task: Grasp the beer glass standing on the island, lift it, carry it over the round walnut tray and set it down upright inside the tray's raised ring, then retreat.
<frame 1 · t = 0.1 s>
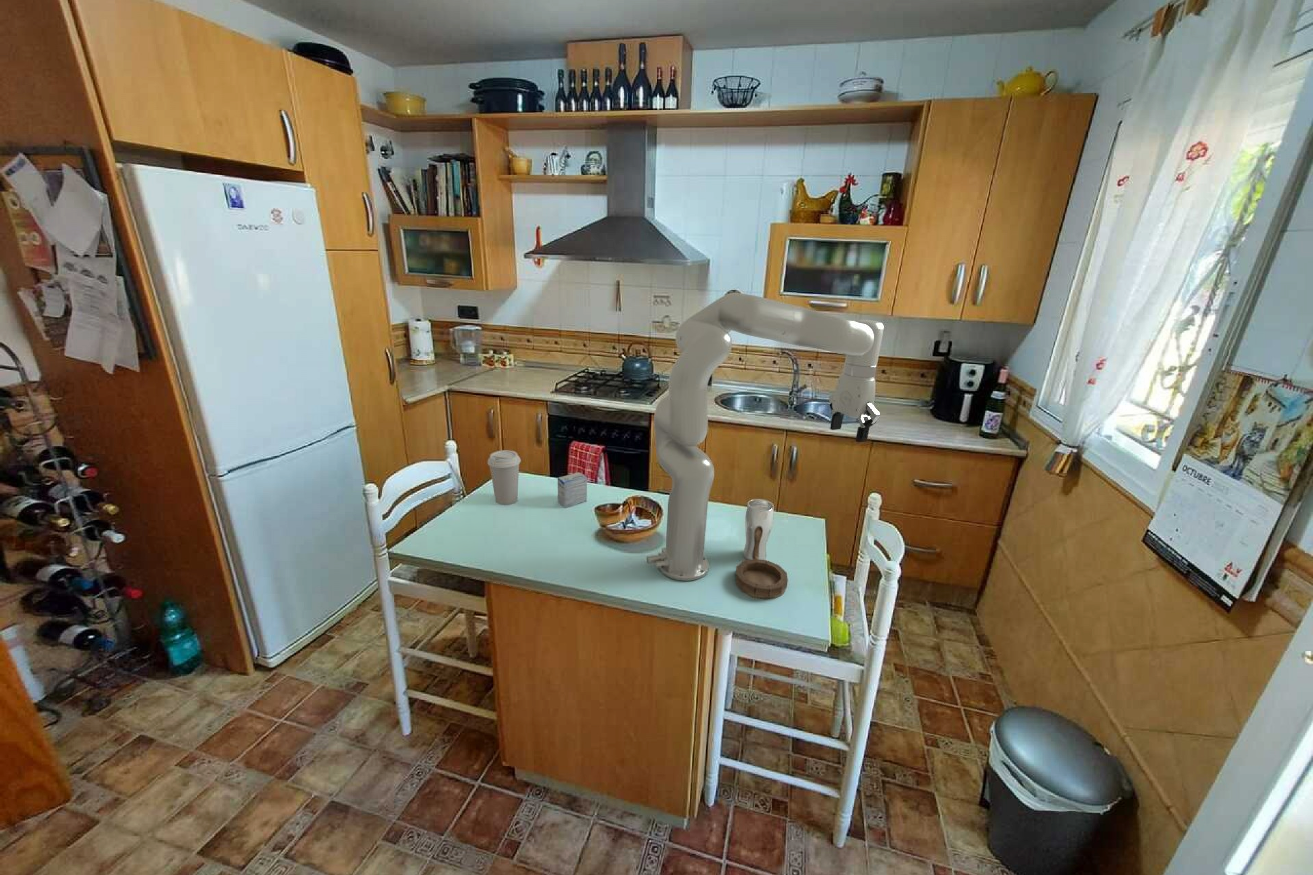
hand: (847, 435, 135), 31 cm above the countertop, tool pointing down, fingers open, 9 cm apart
round tray: (760, 583, 124), on the countertop
beer glass: (754, 556, 136), on the countertop
medicine box: (572, 503, 160), on the countertop
coffee cup: (506, 500, 159), on the countertop
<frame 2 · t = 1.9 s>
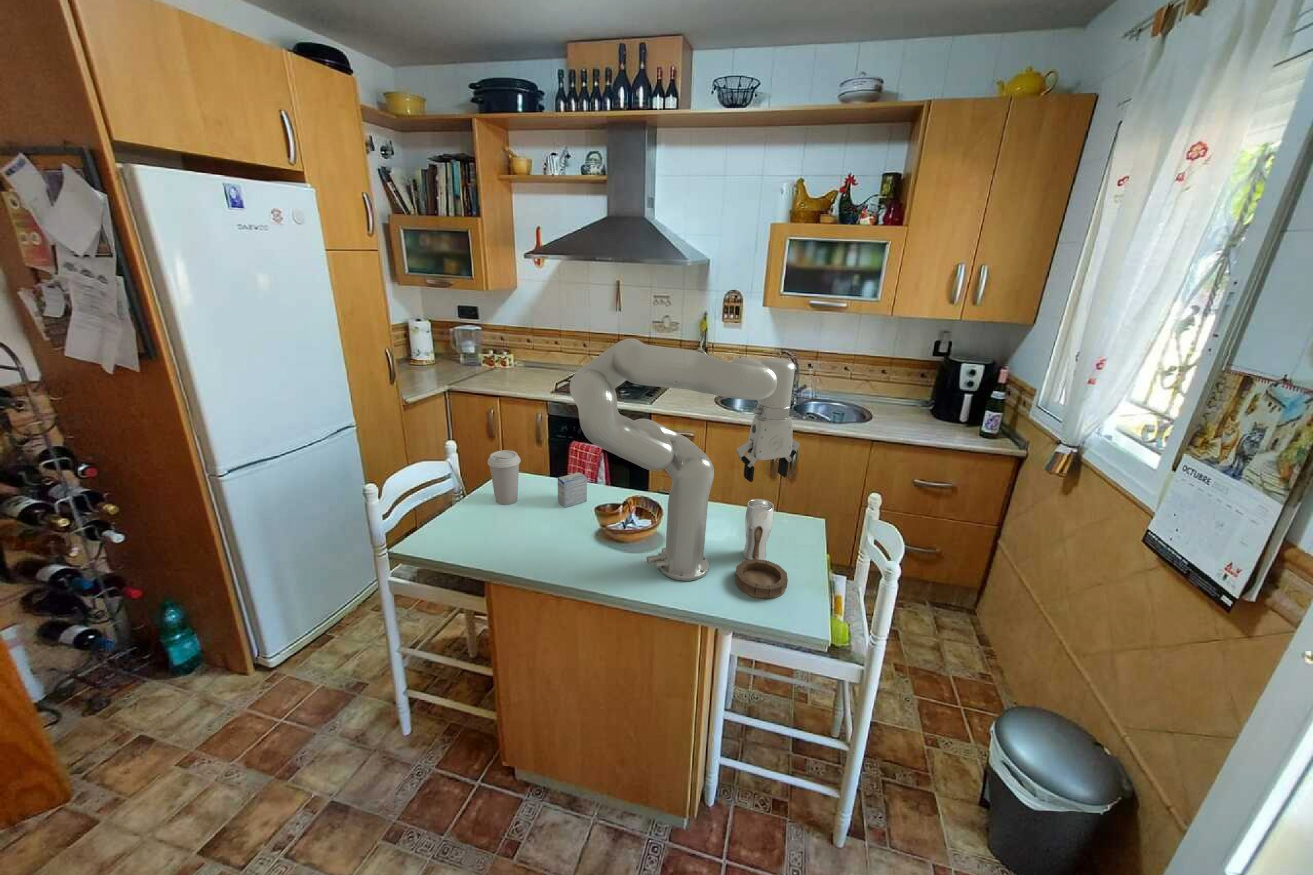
hand: (765, 477, 128), 23 cm above the countertop, tool pointing down, fingers open, 9 cm apart
nothing on the countertop moved.
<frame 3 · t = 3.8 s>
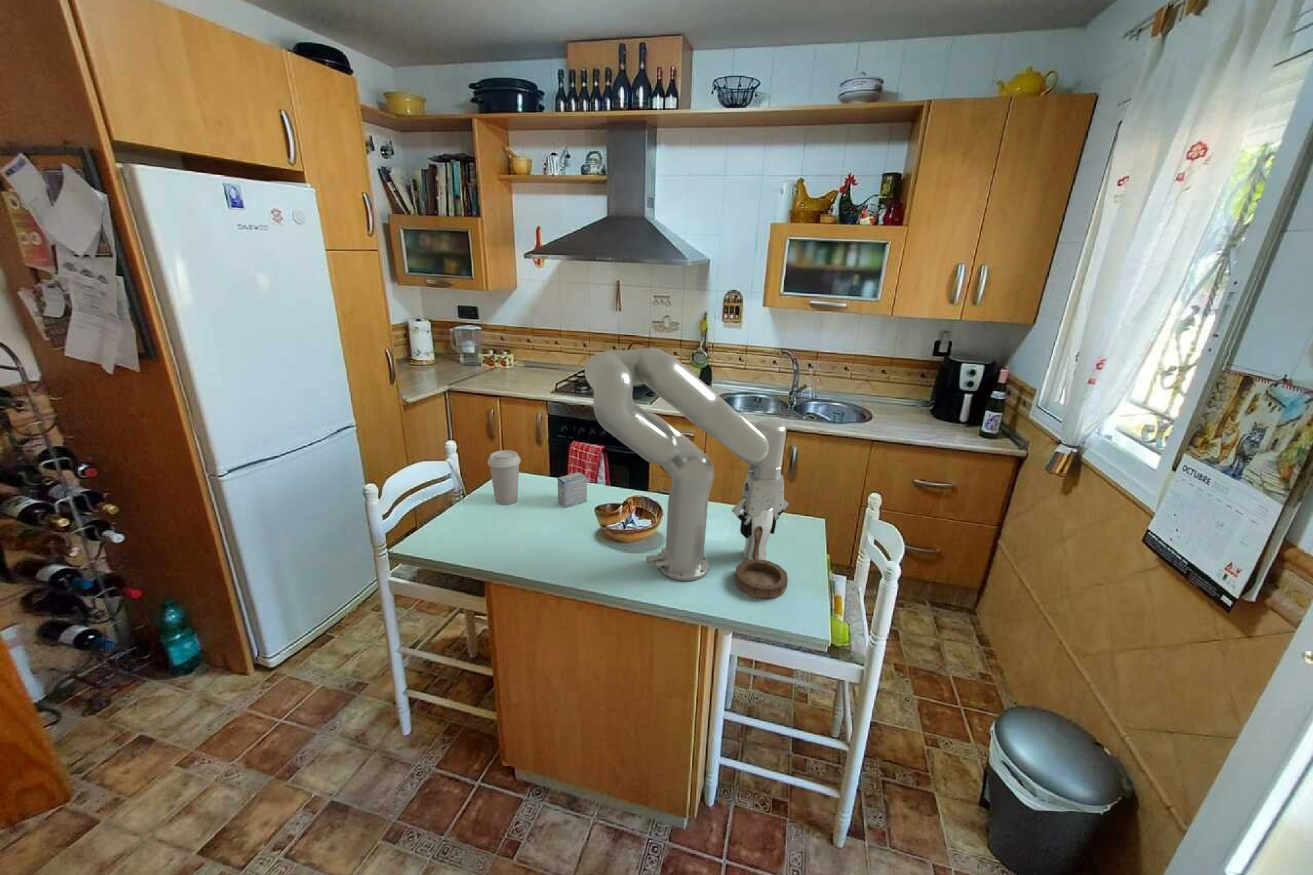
hand: (757, 533, 133), 7 cm above the countertop, tool pointing down, fingers closed on beer glass, 6 cm apart
beer glass: (754, 556, 136), on the countertop, touching gripper
everything else where it was.
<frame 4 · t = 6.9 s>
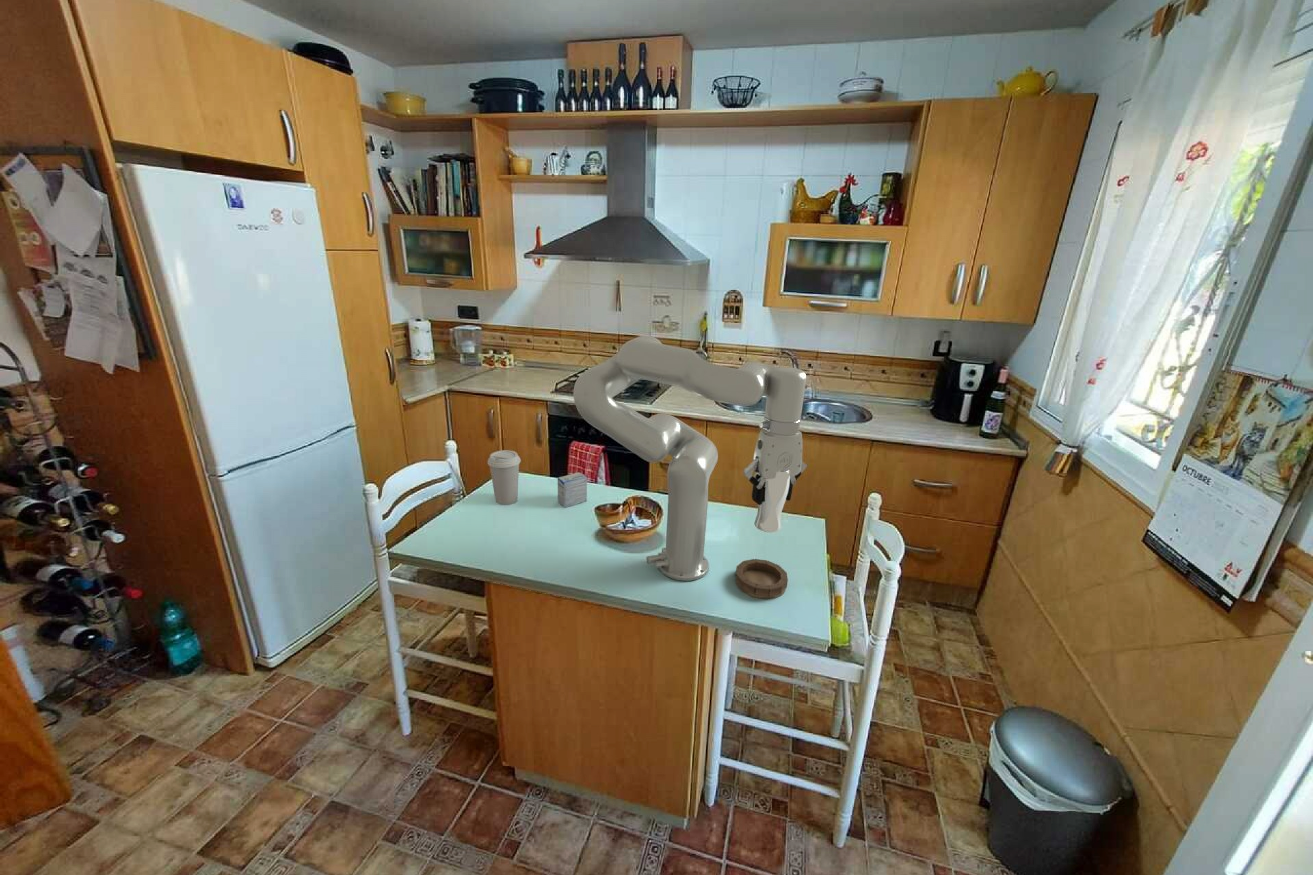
hand: (771, 499, 117), 22 cm above the countertop, tool pointing down, fingers closed on beer glass, 6 cm apart
beer glass: (767, 526, 119), point 15 cm above the countertop, touching gripper
everything else where it was.
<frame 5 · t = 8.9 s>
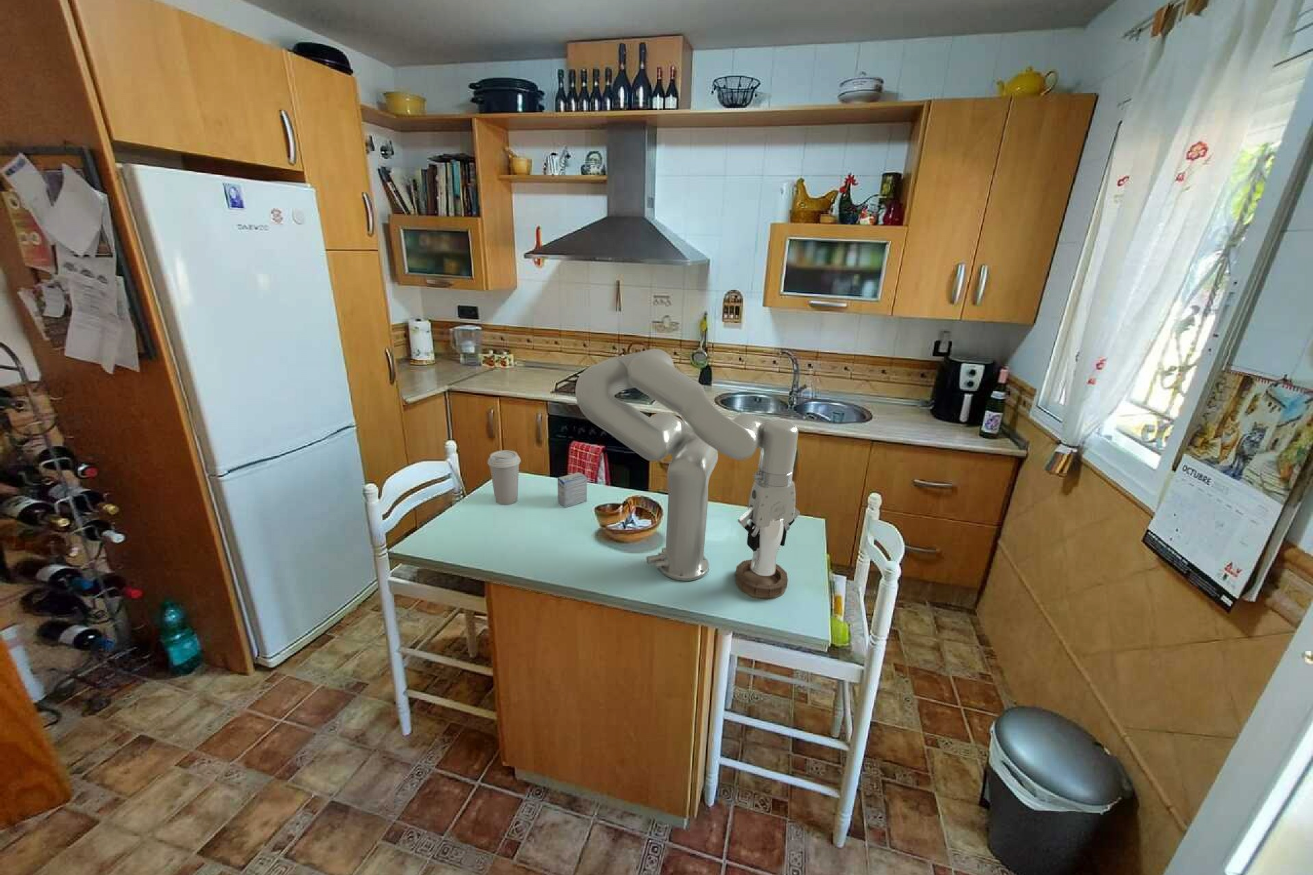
hand: (765, 545, 121), 11 cm above the countertop, tool pointing down, fingers closed on beer glass, 6 cm apart
beer glass: (762, 570, 123), point 4 cm above the countertop, touching gripper
everything else where it was.
when the fingers open (9 cm above the countertop, at t = 10.3 s): beer glass drops 1 cm, resting on round tray.
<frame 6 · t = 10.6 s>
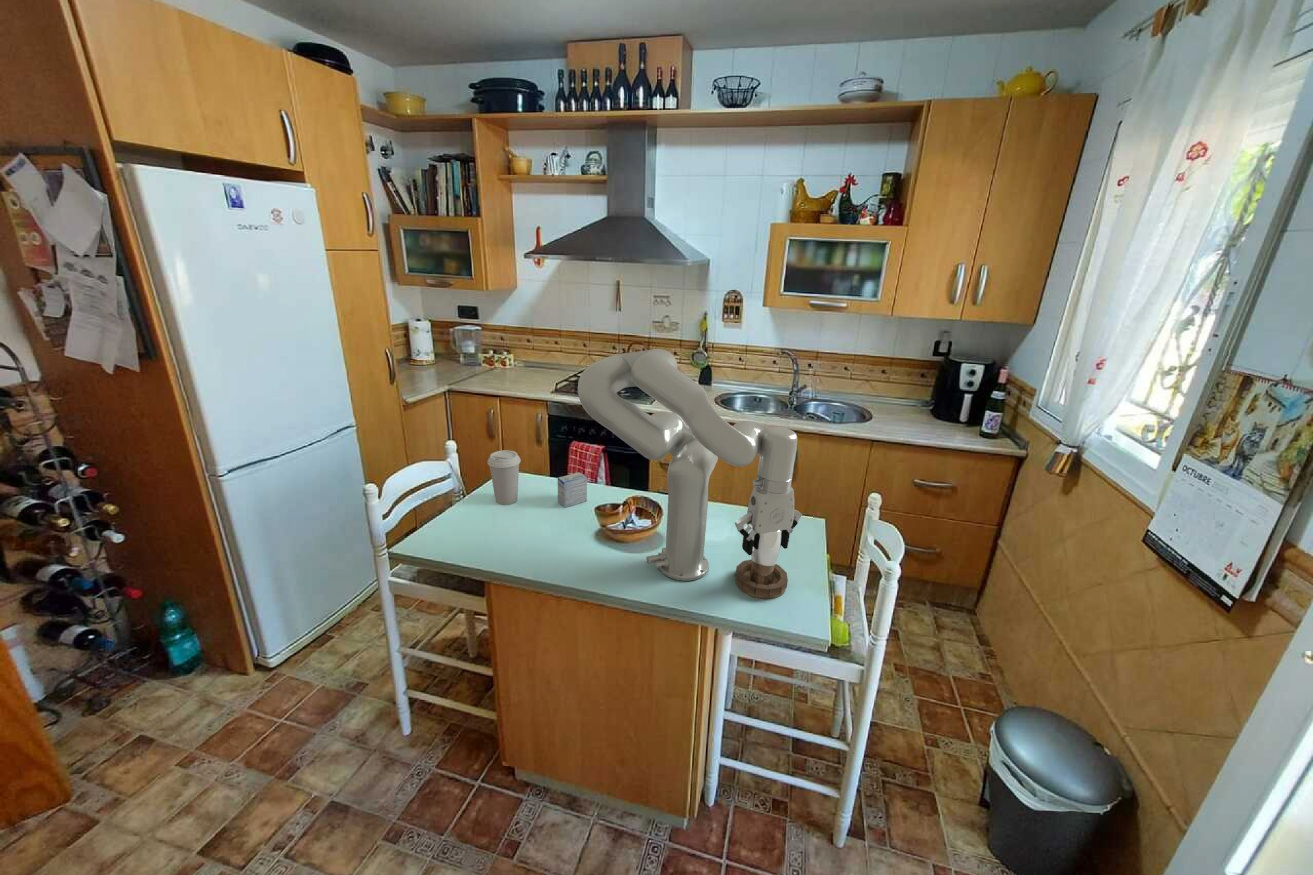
hand: (764, 548, 121), 10 cm above the countertop, tool pointing down, fingers open, 9 cm apart
beer glass: (761, 580, 124), point 1 cm above the countertop, touching round tray
everything else where it was.
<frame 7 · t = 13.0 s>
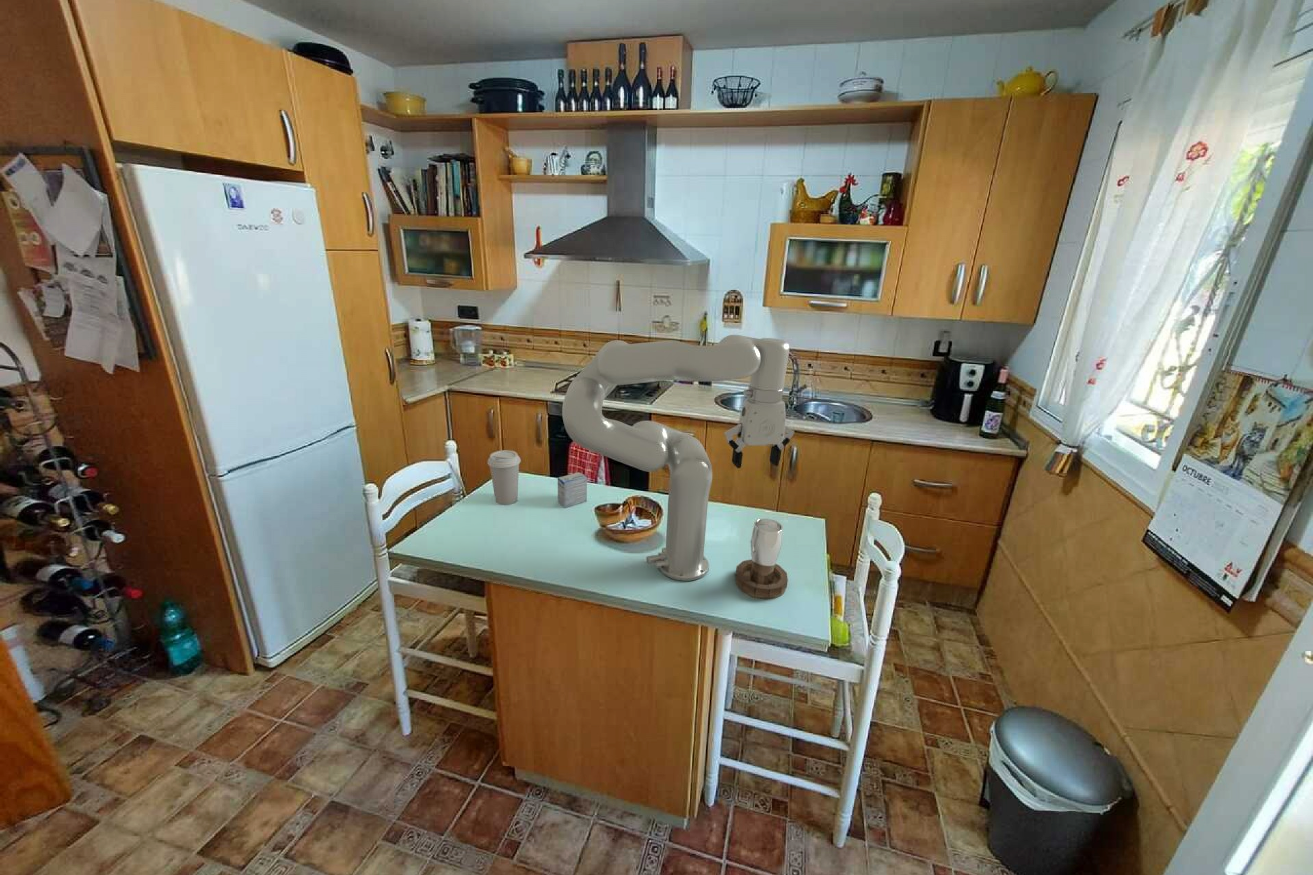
hand: (755, 464, 121), 28 cm above the countertop, tool pointing down, fingers open, 9 cm apart
nothing on the countertop moved.
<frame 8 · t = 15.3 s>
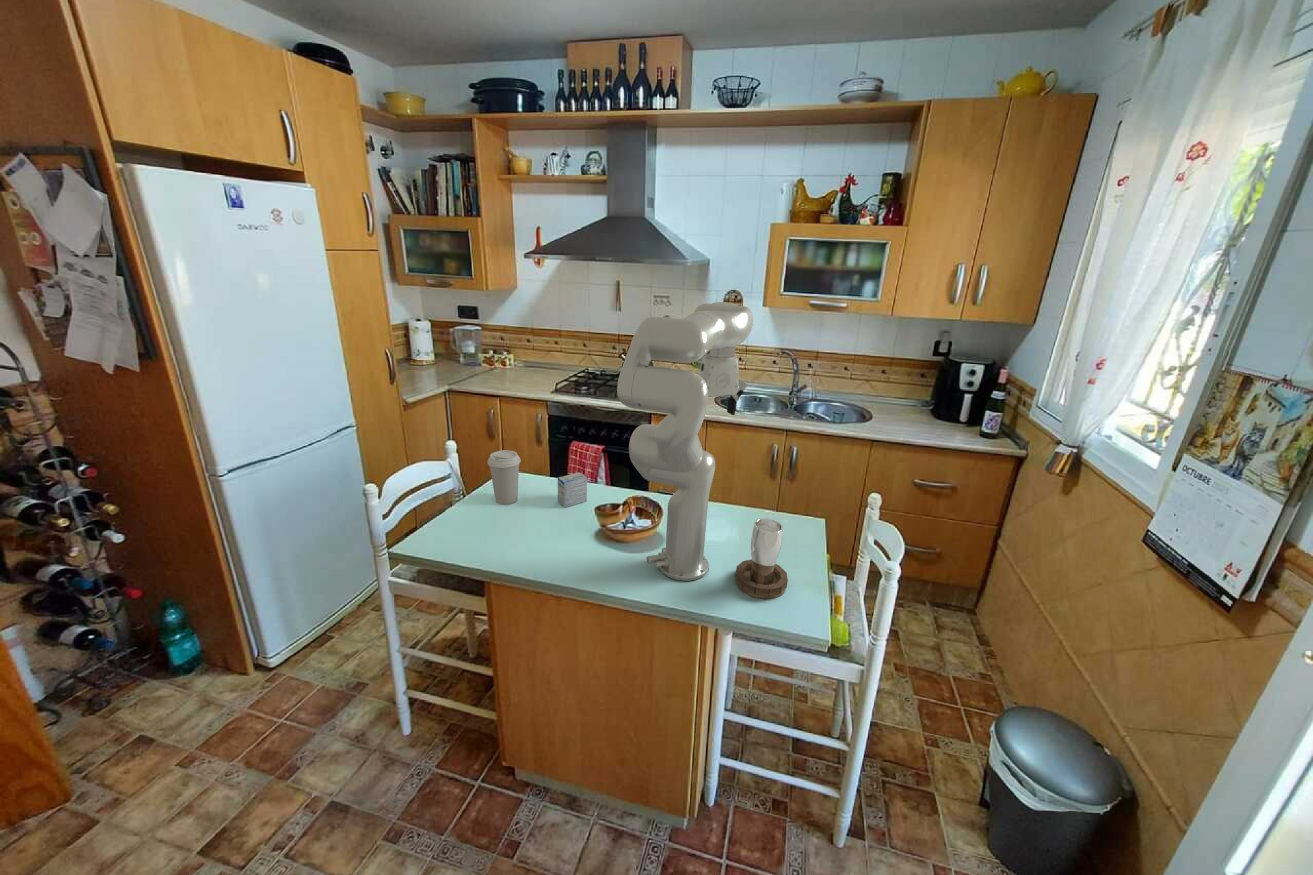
hand: (714, 414, 139), 33 cm above the countertop, tool pointing down, fingers open, 9 cm apart
nothing on the countertop moved.
at the end: beer glass 0.1 cm off-centre on the round tray, point 0.6 cm above the round tray's base; beer glass tilted 0°; the gripper is holding nothing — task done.
